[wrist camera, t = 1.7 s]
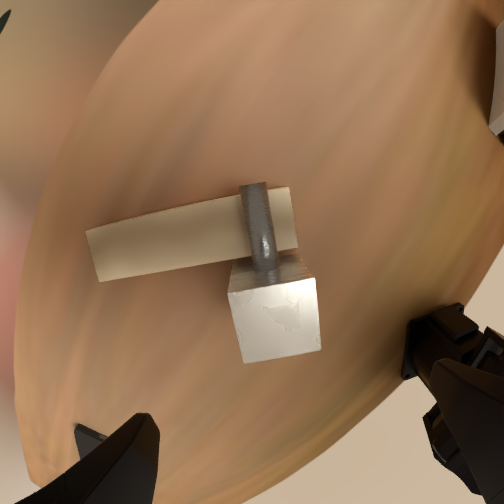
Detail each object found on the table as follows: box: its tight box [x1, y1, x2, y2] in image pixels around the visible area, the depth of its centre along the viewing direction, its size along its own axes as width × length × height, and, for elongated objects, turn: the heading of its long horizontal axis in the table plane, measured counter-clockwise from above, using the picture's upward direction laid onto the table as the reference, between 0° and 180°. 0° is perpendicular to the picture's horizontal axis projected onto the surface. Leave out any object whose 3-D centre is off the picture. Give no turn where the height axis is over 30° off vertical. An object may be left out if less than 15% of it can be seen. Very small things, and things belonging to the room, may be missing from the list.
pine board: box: [85, 187, 298, 282], centre depth 17 cm, size 4×13×2 cm, turn 100°
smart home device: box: [74, 424, 108, 459], centre depth 25 cm, size 8×2×20 cm
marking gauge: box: [227, 182, 321, 364], centre depth 15 cm, size 8×4×6 cm, turn 10°
